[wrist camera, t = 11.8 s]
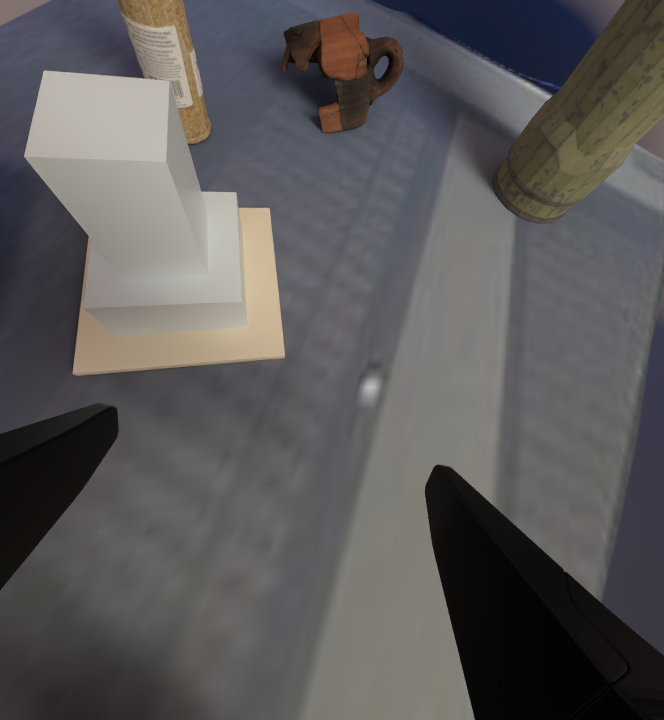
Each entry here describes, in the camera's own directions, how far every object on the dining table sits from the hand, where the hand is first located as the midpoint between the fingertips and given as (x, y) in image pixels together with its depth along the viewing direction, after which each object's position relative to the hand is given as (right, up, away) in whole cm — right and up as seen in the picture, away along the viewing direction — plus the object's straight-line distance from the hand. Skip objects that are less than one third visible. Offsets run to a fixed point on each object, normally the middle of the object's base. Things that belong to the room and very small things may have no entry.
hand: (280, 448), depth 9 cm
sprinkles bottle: (-13, +24, +21) cm, 35 cm away
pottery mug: (+2, +31, +26) cm, 40 cm away
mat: (-10, +9, +16) cm, 21 cm away
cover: (-10, +9, +15) cm, 20 cm away
